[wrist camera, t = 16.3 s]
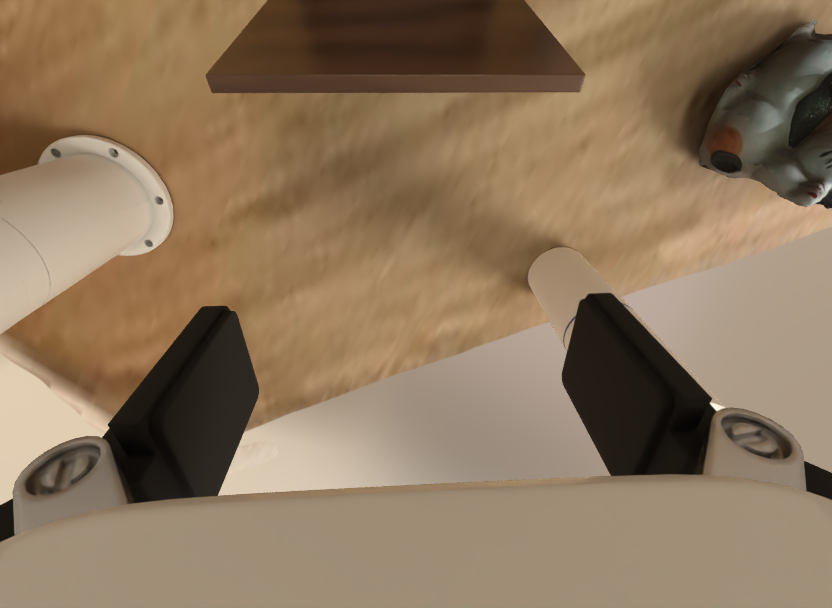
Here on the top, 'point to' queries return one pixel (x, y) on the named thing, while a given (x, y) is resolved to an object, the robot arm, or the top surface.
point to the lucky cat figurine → (779, 121)
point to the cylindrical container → (577, 295)
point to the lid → (395, 49)
